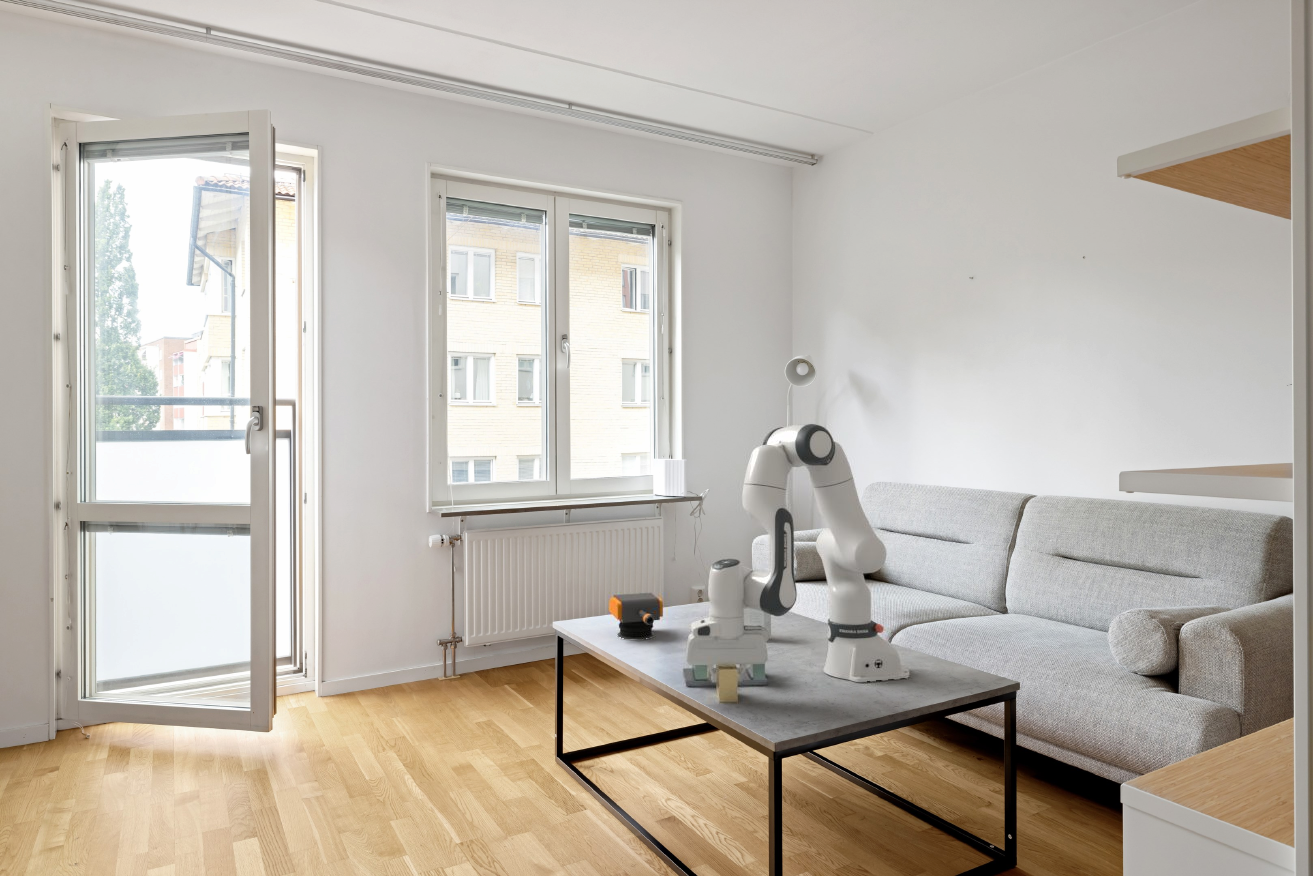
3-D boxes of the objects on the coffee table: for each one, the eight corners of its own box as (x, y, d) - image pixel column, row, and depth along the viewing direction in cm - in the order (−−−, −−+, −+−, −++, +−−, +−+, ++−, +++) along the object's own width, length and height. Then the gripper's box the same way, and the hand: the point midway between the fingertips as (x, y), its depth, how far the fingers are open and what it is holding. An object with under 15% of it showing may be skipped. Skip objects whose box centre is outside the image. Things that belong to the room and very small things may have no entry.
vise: (760, 672, 226) (759, 645, 226) (766, 685, 215) (766, 656, 215) (683, 674, 226) (682, 646, 225) (685, 686, 215) (685, 657, 214)
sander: (626, 651, 249) (626, 609, 249) (608, 631, 273) (608, 593, 273) (673, 647, 253) (673, 605, 253) (651, 628, 277) (651, 590, 277)
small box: (771, 638, 263) (771, 596, 263) (764, 642, 258) (764, 600, 258) (747, 635, 267) (747, 594, 267) (740, 639, 261) (740, 598, 261)
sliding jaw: (705, 667, 226) (704, 646, 226) (709, 679, 215) (708, 657, 215) (692, 667, 226) (692, 646, 226) (695, 679, 215) (695, 657, 215)
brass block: (733, 692, 210) (733, 661, 209) (737, 702, 203) (737, 669, 202) (716, 693, 209) (715, 661, 209) (719, 702, 202) (719, 669, 202)
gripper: (766, 622, 209) (766, 677, 209) (684, 623, 208) (685, 678, 209) (770, 628, 203) (770, 684, 203) (686, 629, 202) (686, 686, 202)
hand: (726, 681), depth 206 cm, fingers closed on brass block, 4 cm apart
